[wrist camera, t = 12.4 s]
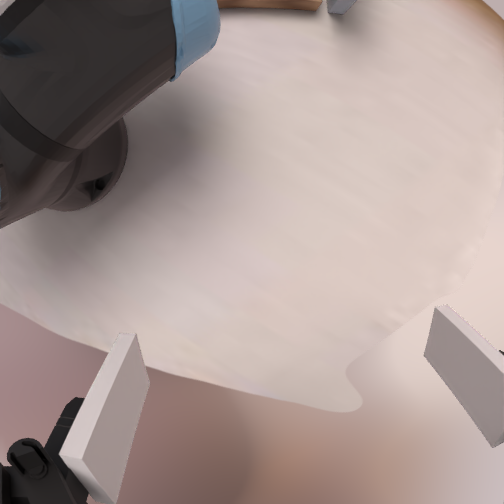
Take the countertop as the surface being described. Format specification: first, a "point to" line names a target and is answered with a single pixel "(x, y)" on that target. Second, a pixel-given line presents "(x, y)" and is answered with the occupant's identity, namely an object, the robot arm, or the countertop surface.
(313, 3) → the plinth
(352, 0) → the backboard
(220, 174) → the countertop surface
